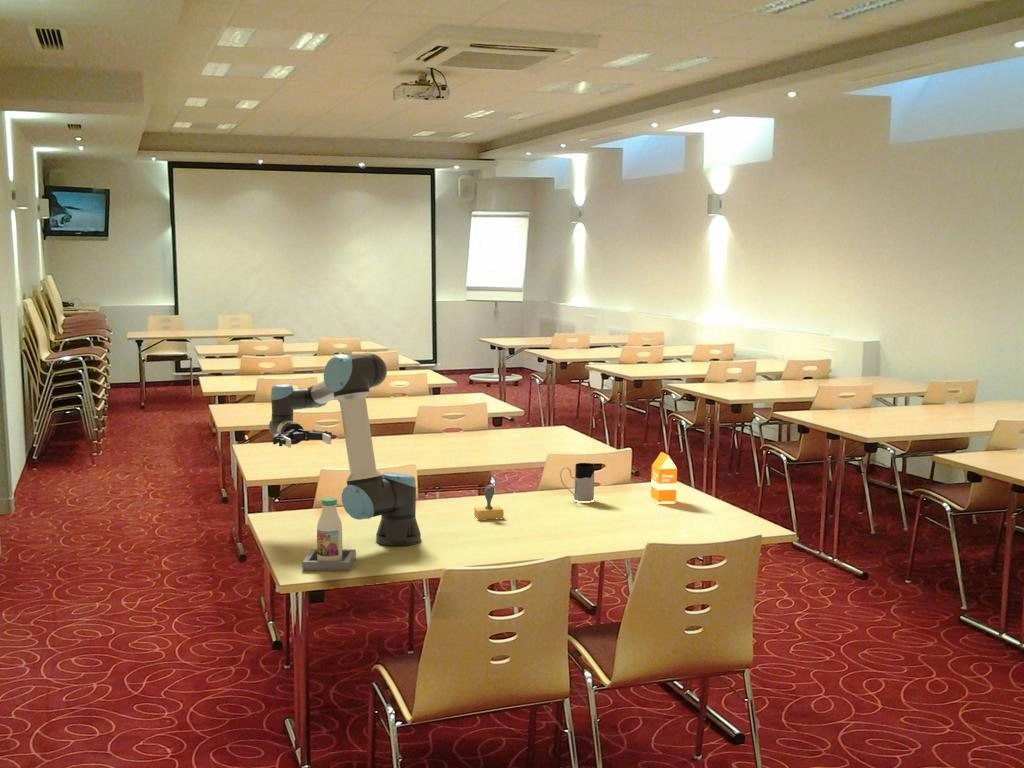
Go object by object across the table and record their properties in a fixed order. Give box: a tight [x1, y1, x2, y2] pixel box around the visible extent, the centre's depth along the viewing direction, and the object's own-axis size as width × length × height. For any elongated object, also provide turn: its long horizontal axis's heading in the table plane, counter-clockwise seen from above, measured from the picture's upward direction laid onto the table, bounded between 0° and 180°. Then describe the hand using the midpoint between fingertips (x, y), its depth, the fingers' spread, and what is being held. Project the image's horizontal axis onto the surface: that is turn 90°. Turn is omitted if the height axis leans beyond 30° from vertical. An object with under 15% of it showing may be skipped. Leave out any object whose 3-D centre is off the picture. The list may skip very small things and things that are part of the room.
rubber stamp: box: [473, 486, 505, 521], centre depth 356 cm, size 10×6×12 cm, turn 106°
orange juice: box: [650, 451, 678, 502], centre depth 386 cm, size 8×9×20 cm
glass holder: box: [559, 462, 595, 501], centre depth 385 cm, size 9×14×15 cm, turn 91°
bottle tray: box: [301, 548, 357, 572], centre depth 297 cm, size 14×14×3 cm
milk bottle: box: [316, 497, 343, 561], centre depth 296 cm, size 8×8×20 cm
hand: (310, 441), depth 314 cm, fingers open, 13 cm apart
